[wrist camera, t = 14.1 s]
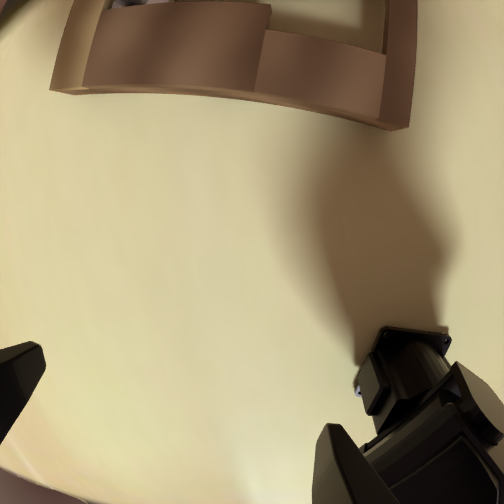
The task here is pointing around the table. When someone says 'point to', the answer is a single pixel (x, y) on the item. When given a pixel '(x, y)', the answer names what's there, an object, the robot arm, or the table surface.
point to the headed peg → (136, 2)
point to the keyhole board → (237, 58)
